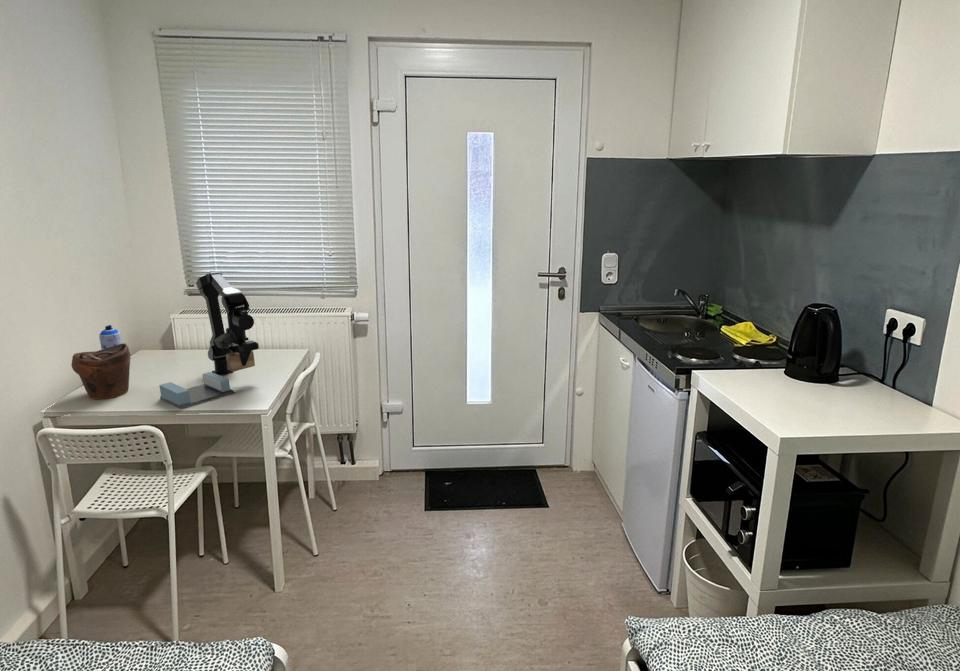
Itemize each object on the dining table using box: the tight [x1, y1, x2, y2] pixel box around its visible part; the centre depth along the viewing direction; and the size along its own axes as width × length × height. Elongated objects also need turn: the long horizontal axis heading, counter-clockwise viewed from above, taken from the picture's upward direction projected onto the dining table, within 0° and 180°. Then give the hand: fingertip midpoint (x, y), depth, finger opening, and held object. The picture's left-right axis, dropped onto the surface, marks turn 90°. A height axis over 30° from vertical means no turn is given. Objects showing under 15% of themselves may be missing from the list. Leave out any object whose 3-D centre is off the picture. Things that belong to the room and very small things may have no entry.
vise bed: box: [159, 383, 235, 410], centre depth 230 cm, size 16×20×1 cm
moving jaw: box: [202, 371, 231, 392], centre depth 235 cm, size 14×3×4 cm, turn 50°
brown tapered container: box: [71, 342, 132, 400], centre depth 231 cm, size 18×20×18 cm
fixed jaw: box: [158, 381, 190, 406], centre depth 223 cm, size 14×4×4 cm, turn 50°
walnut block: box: [226, 350, 256, 373], centre depth 239 cm, size 4×9×6 cm, turn 140°
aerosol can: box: [99, 324, 123, 350], centre depth 255 cm, size 8×8×20 cm
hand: (241, 364), depth 239 cm, fingers closed on walnut block, 4 cm apart
